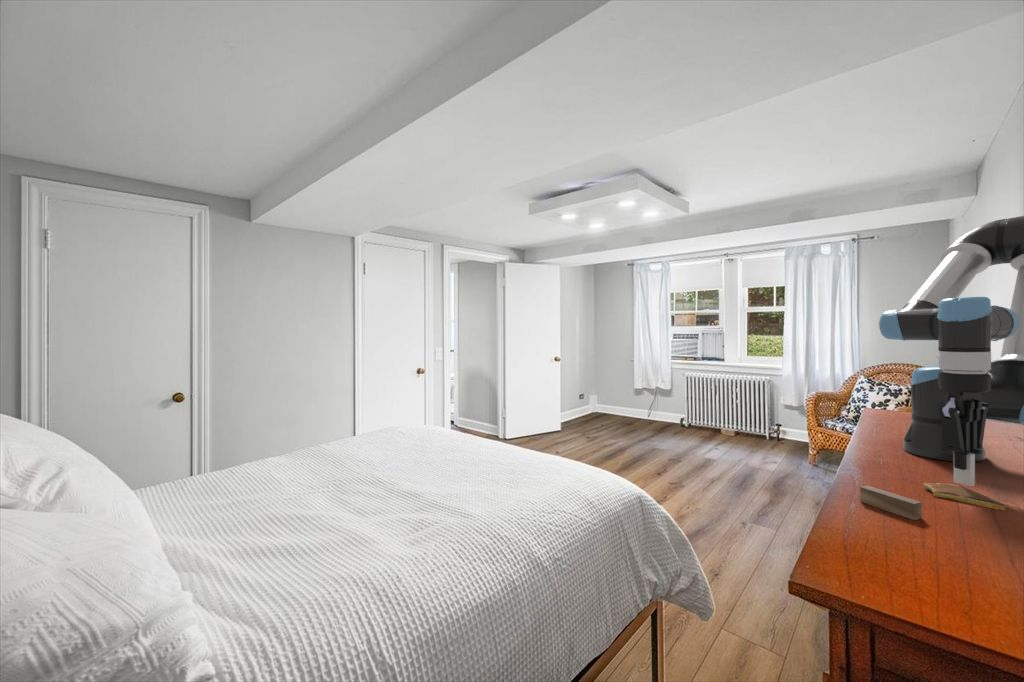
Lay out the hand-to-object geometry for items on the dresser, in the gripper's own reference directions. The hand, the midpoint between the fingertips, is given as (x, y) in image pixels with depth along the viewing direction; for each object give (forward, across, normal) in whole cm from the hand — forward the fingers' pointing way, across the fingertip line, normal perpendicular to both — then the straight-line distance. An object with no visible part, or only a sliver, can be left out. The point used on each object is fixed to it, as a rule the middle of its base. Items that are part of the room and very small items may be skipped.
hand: (964, 483), depth 89 cm
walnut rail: (+2, +24, 0) cm, 24 cm away
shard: (+2, +4, +2) cm, 5 cm away
